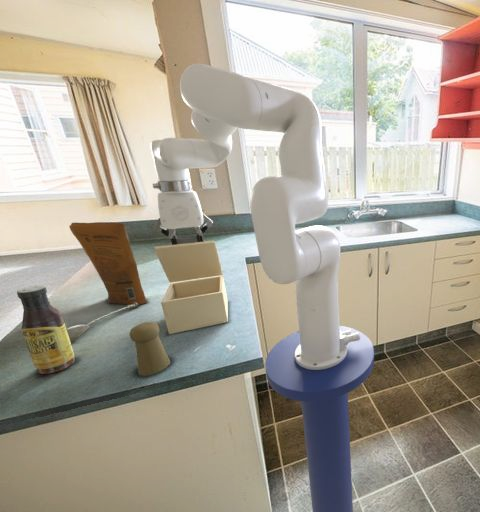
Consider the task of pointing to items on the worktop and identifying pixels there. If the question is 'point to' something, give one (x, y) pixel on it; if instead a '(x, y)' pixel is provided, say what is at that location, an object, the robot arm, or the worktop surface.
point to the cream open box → (195, 304)
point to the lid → (189, 259)
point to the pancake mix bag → (111, 259)
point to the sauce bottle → (44, 331)
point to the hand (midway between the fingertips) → (189, 248)
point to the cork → (149, 349)
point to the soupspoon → (80, 329)
